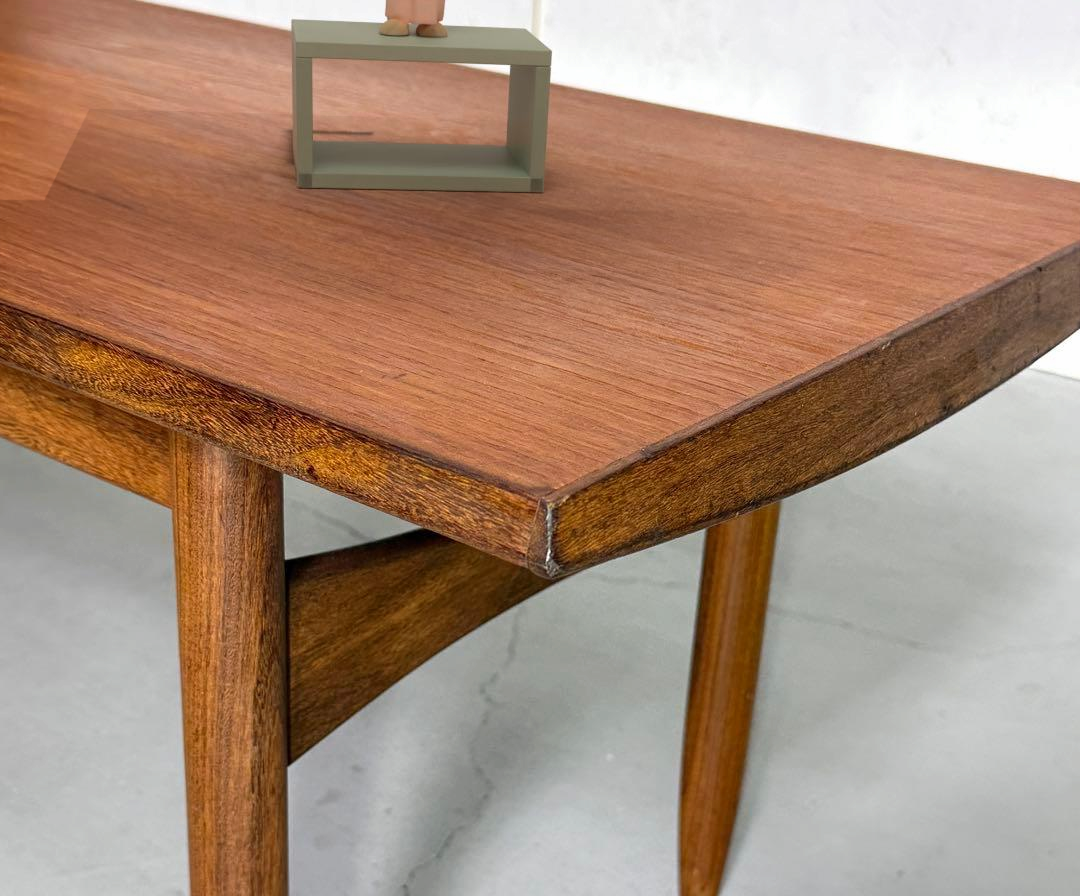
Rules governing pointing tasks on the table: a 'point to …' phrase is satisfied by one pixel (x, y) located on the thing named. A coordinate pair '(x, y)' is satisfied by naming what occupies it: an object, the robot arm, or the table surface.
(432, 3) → the grandmother figurine
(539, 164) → the frame
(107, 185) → the table surface
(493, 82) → the table surface
